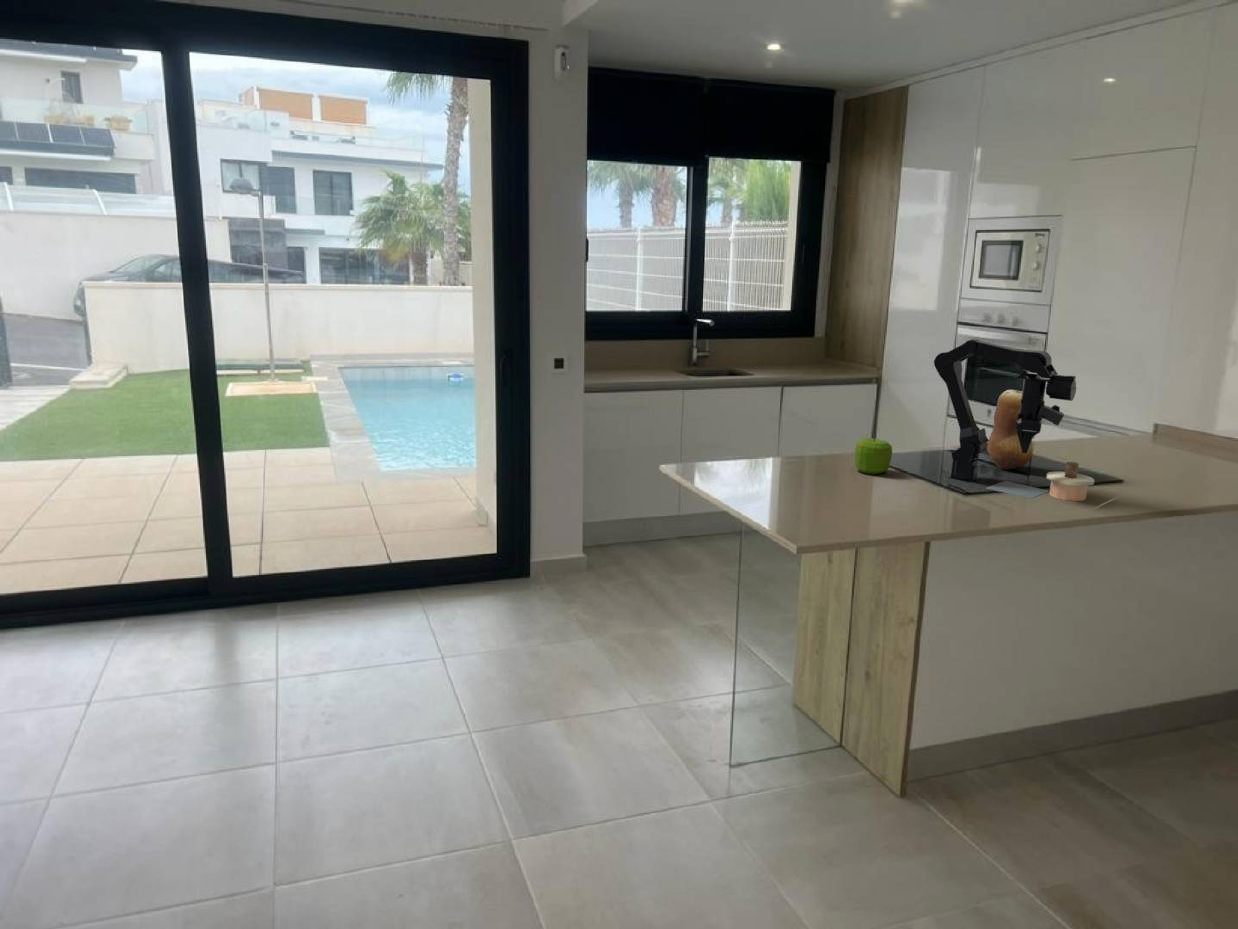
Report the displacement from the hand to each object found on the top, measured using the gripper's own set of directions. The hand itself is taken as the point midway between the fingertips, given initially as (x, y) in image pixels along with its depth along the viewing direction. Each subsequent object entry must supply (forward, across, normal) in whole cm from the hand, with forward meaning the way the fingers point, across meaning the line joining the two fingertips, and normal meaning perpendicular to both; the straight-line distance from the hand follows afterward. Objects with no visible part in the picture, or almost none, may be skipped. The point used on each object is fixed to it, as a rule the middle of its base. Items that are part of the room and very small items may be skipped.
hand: (1024, 449), depth 254 cm
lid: (+7, -1, -13) cm, 14 cm away
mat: (+12, -1, 0) cm, 12 cm away
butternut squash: (+12, +27, +4) cm, 30 cm away
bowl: (+12, -1, -13) cm, 17 cm away
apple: (+12, -2, +42) cm, 43 cm away
